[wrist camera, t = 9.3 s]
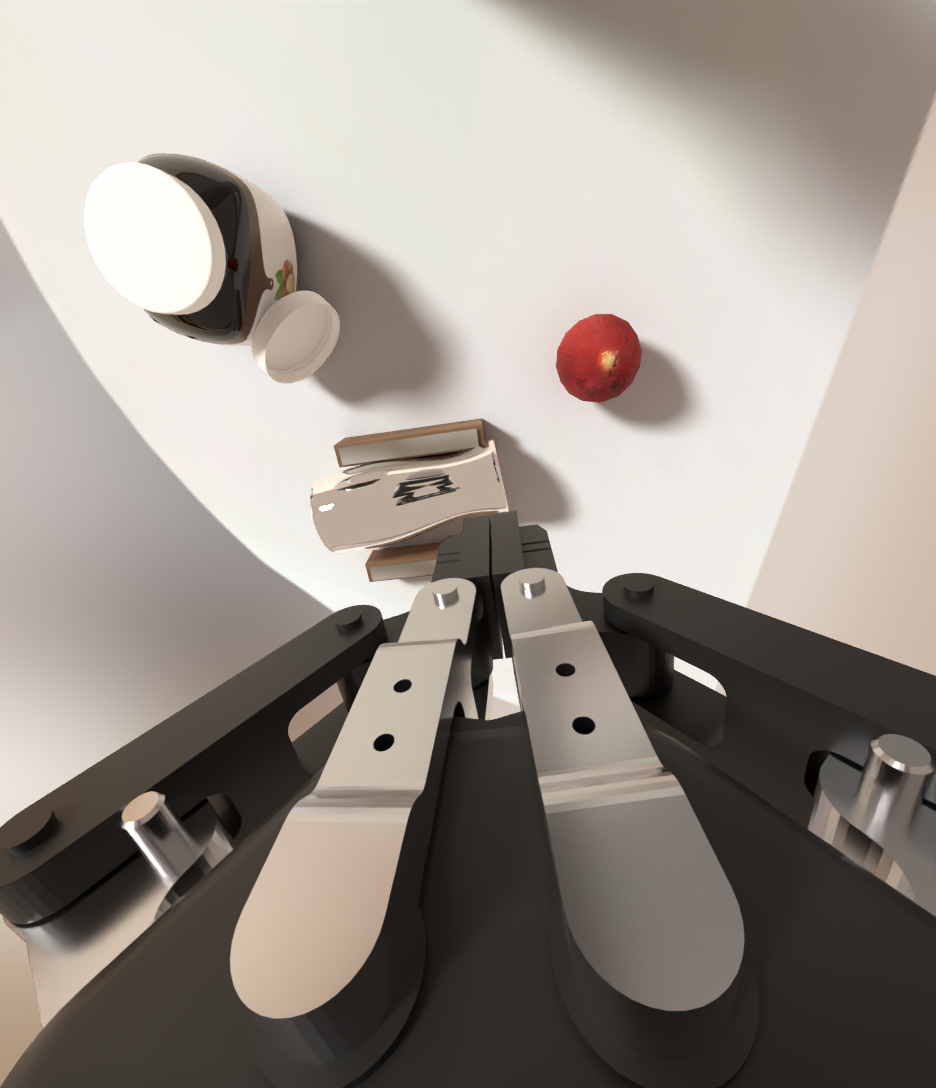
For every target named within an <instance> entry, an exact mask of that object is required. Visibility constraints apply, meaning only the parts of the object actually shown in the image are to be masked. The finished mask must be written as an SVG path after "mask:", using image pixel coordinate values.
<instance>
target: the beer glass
mask: <svg viewBox="0 0 936 1088" xmlns="http://www.w3.org/2000/svg"><path fill="white" fill-rule="evenodd" d="M310 506H311V512H312V517H313V521H314V524H315V527H316V530H317V532H318V534H319V536H320V538H321V540H322V542H323V543H324V545H325V546H326V547H327V548H328V549H329V550H330V551H331V552H333V553H341V552H348V551H356V550H363V549H370V548H375V547H381V546H385V545H389V544H393V543H397V542H401V541H403V540H406V539H409V538H412V537H415V536H417V535H420V534H422V533H425V532H427V531H430V530H432V529H434V528H437V527H439V526H442V525H444V524H447V523H449V522H452V521H455V520H458V519H462V518H465V517H470V516H476V515H488V514H489V515H490V514H495V513H502V512H509V508H508V503H507V498H506V493H505V489H504V484H503V479H502V475H501V470H500V466H499V461H498V456H497V452H496V447H495V443H494V440H488V441H485V442H484V443H482V444H480V445H479V446H477V447H474V448H470V449H468V450H464V451H461V452H458V453H454V454H450V455H445V456H438V457H426V458H408V459H398V460H388V461H379V462H374V463H368V464H363V465H360V466H356V467H352V468H349V469H346V470H342V471H339V472H336V473H333V474H331V475H328V476H325V477H321V478H317V479H315V480H314V482H313V483H312V486H311V490H310Z"/></svg>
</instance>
